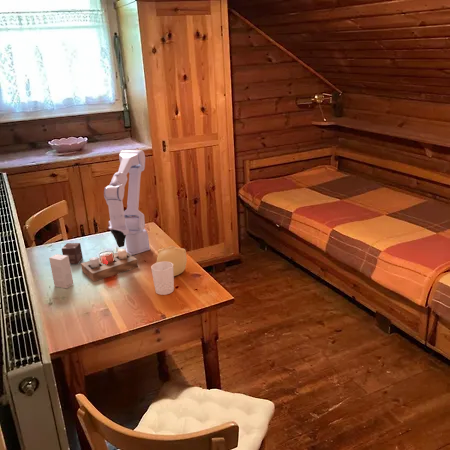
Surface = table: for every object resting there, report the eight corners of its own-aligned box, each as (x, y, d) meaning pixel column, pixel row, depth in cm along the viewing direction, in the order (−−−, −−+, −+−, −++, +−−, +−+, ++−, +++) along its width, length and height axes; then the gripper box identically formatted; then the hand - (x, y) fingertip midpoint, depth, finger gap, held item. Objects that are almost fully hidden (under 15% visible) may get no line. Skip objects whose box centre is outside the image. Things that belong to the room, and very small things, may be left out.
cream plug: (124, 256, 206) (123, 247, 204) (128, 259, 203) (127, 250, 202) (117, 259, 204) (115, 250, 203) (120, 261, 201) (119, 252, 200)
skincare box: (74, 284, 190) (69, 255, 186) (66, 289, 187) (61, 260, 183) (61, 281, 193) (56, 253, 189) (54, 286, 189) (48, 257, 185)
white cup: (158, 297, 177) (155, 272, 173) (150, 289, 183) (148, 264, 180) (178, 292, 180) (176, 267, 177) (170, 283, 187) (168, 259, 183)
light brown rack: (125, 257, 211) (124, 250, 210) (138, 266, 202) (137, 259, 201) (82, 271, 201) (80, 263, 199) (93, 281, 192) (92, 273, 190)
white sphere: (97, 265, 199) (96, 256, 198) (101, 267, 197) (99, 258, 195) (89, 267, 197) (88, 258, 196) (92, 270, 195) (91, 261, 193)
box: (83, 258, 213) (80, 242, 210) (78, 264, 207) (75, 248, 205) (69, 258, 213) (66, 242, 211) (64, 264, 208) (61, 248, 205)
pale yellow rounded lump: (189, 266, 200) (187, 241, 197) (183, 279, 189) (181, 253, 185) (162, 265, 202) (159, 241, 198) (154, 279, 191) (151, 253, 187)
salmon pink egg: (111, 260, 203) (110, 252, 201) (115, 263, 200) (113, 254, 199) (103, 263, 201) (102, 254, 199) (107, 266, 198) (105, 257, 197)
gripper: (100, 212, 200) (104, 243, 205) (115, 221, 189) (119, 254, 194) (116, 208, 204) (120, 239, 209) (132, 217, 193) (136, 249, 198)
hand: (121, 246), depth 202 cm, fingers closed
